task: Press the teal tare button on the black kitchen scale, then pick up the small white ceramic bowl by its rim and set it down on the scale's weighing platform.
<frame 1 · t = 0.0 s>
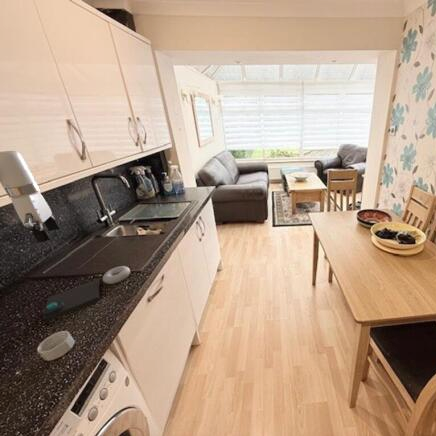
hand: (49, 235, 86), 26 cm above the countertop, tool pointing down, fingers open, 9 cm apart
tare button: (52, 306, 85), point 3 cm above the countertop, slide at 0.2 cm
scale: (74, 300, 92), on the countertop
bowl: (60, 350, 72), on the countertop
donut: (118, 278, 103), on the countertop
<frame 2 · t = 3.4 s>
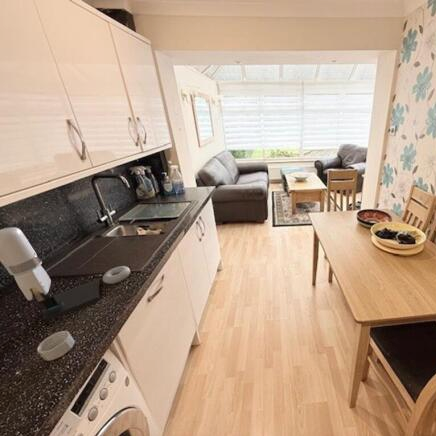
hand: (53, 305, 85), 3 cm above the countertop, tool pointing down, fingers closed
tare button: (53, 307, 85), point 3 cm above the countertop, slide at -0.5 cm, touching gripper
everything else where it was.
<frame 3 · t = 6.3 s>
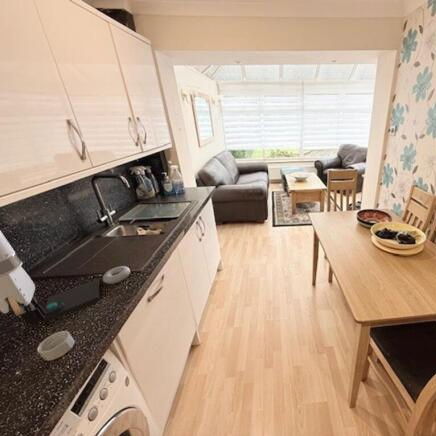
hand: (37, 318, 67), 13 cm above the countertop, tool pointing down, fingers closed
tare button: (52, 306, 85), point 3 cm above the countertop, slide at 0.1 cm
everything else where it was.
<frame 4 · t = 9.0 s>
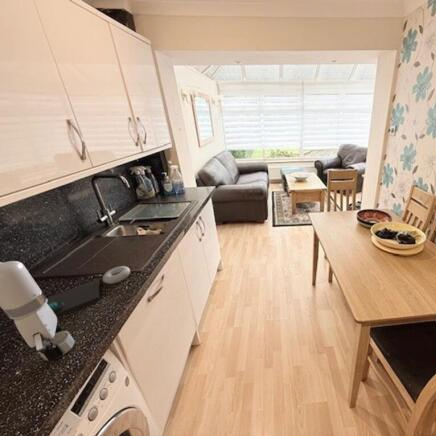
hand: (58, 347, 72), 1 cm above the countertop, tool pointing down, fingers closed on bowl, 7 cm apart
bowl: (60, 350, 72), on the countertop, touching gripper
everything else where it was.
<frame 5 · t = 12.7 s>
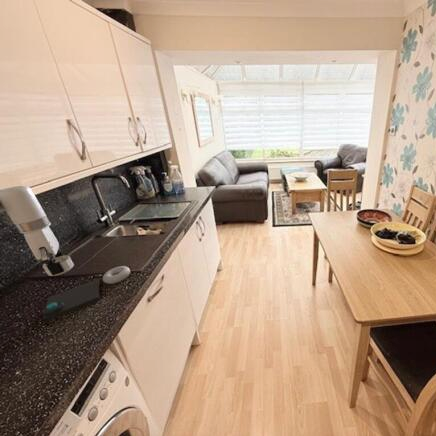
hand: (59, 267, 85), 16 cm above the countertop, tool pointing down, fingers closed on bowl, 7 cm apart
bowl: (61, 270, 86), point 14 cm above the countertop, touching gripper
everything else where it was.
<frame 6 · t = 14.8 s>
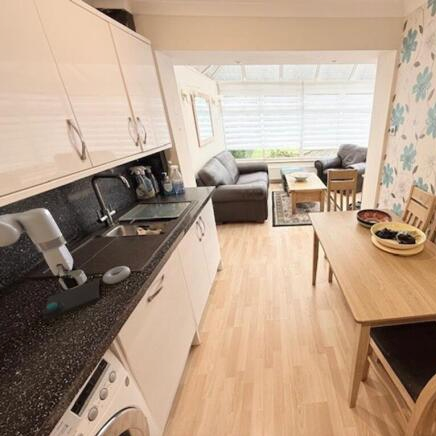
hand: (74, 281, 92), 7 cm above the countertop, tool pointing down, fingers closed on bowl, 7 cm apart
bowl: (75, 283, 92), point 5 cm above the countertop, touching gripper
everything else where it was.
when the fingers open (3 cm above the countertop, at t = 16.4 s): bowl stays where it is, resting on scale.
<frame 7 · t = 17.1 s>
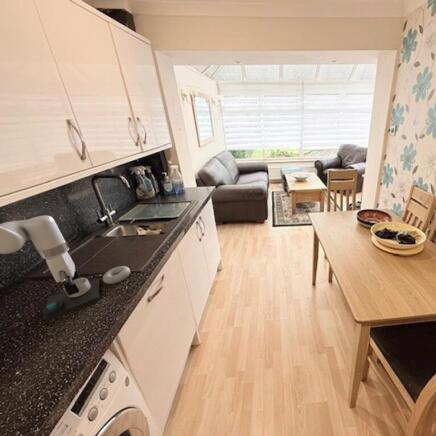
hand: (75, 286, 92), 4 cm above the countertop, tool pointing down, fingers open, 9 cm apart
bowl: (80, 291, 94), point 2 cm above the countertop, touching scale
everything else where it was.
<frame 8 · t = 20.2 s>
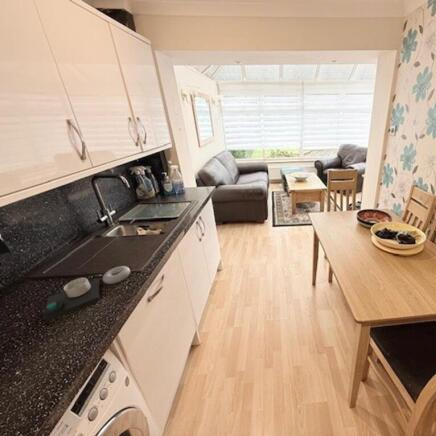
hand: (0, 259, 76), 24 cm above the countertop, tool pointing down, fingers open, 9 cm apart
nothing on the countertop moved.
at the end: tare button pushed in 0.7 cm at the most during the clip, back to where it started at the end; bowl inside the target area on the scale (2.9 cm from its centre), point 1.6 cm above the scale's base; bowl touching scale; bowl tilted 0° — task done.
